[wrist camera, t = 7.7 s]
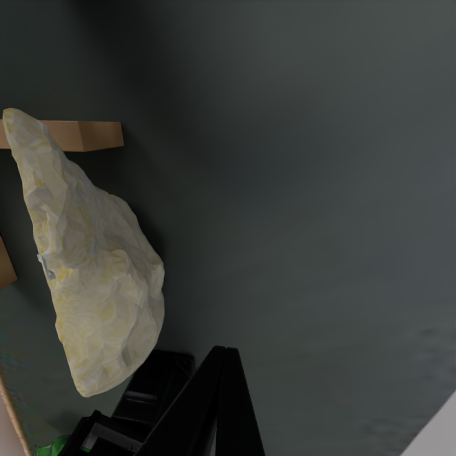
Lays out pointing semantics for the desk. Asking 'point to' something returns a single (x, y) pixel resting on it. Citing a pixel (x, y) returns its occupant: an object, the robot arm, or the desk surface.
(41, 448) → the snack package
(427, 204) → the desk surface
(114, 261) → the pale lumpy rock
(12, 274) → the corner stop
